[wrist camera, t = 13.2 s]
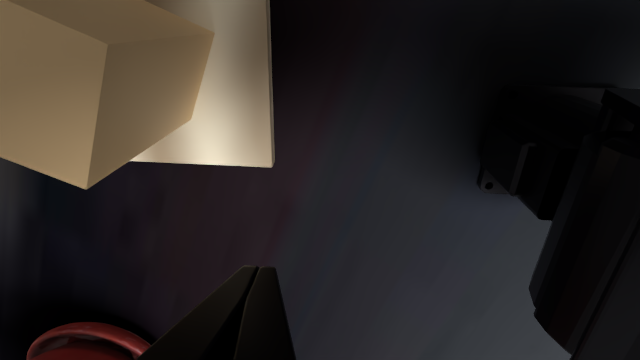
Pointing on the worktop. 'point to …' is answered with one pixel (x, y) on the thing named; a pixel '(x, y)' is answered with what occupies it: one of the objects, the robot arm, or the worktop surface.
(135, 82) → the ochre block
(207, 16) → the birch board
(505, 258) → the worktop surface
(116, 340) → the plant pot
